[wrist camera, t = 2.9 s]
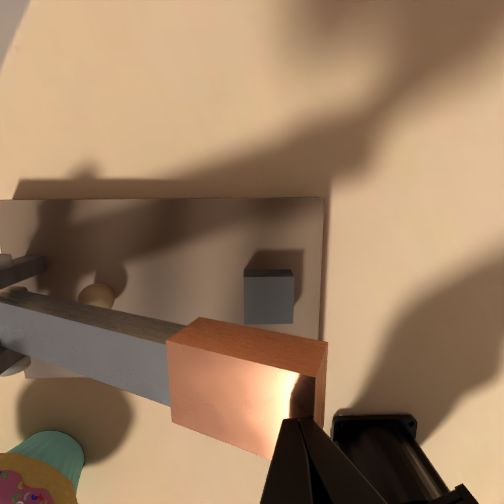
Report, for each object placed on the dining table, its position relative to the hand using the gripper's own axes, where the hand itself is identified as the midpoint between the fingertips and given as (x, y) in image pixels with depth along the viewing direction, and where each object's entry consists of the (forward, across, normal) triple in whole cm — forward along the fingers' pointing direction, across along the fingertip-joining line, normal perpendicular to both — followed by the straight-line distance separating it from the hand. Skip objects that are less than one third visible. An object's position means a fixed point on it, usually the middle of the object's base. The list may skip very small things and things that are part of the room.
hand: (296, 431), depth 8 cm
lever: (+6, +7, 0) cm, 9 cm away
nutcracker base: (+13, +6, 0) cm, 14 cm away
